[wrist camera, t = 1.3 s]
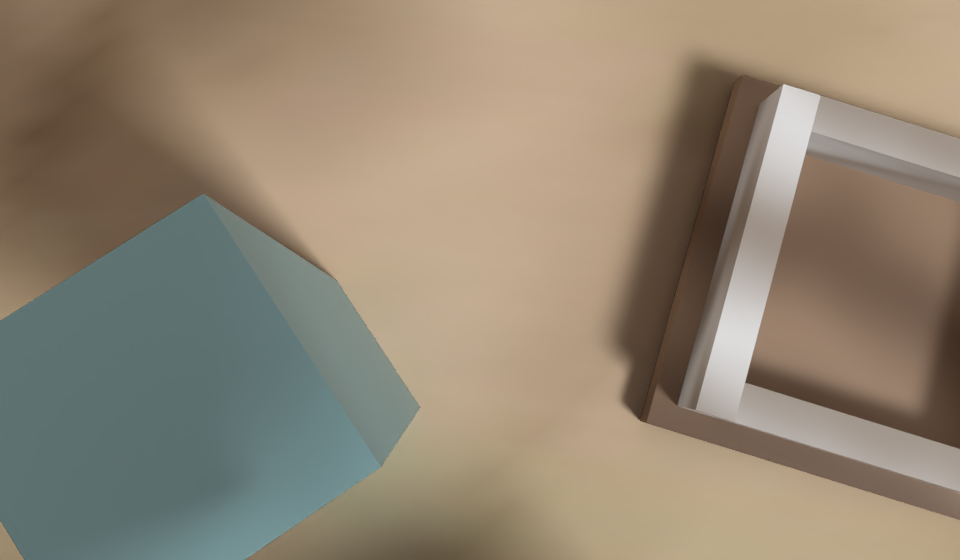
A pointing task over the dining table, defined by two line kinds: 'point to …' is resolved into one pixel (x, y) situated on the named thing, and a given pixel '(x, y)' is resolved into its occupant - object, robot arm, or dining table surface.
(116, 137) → the dining table surface
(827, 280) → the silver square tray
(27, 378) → the block
